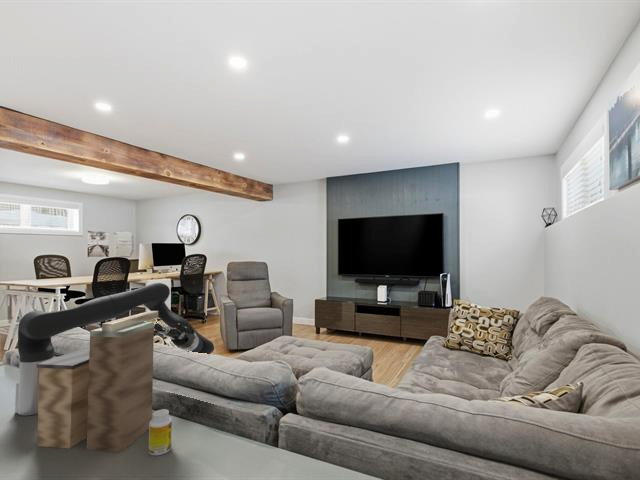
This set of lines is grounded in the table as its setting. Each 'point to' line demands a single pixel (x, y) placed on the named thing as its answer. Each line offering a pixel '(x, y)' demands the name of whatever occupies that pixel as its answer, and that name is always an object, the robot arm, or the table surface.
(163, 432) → the supplement bottle
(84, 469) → the table surface
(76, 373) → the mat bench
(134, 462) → the table surface
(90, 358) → the walnut stand
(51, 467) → the table surface
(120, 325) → the slat
